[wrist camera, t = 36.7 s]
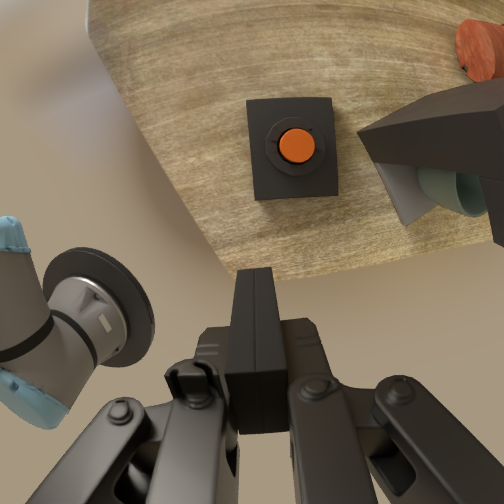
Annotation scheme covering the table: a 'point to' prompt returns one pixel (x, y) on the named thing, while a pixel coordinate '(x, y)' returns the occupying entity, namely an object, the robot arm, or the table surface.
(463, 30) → the potted plant
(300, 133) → the button
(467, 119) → the coffee maker
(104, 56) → the table surface
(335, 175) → the control pad
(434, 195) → the cup
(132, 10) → the table surface
